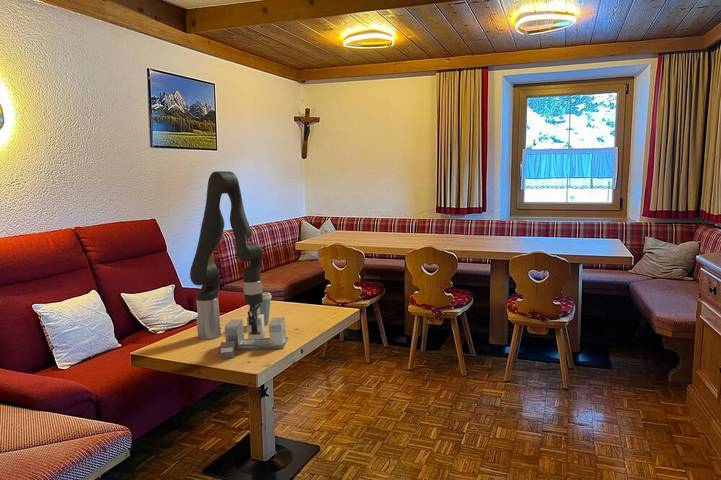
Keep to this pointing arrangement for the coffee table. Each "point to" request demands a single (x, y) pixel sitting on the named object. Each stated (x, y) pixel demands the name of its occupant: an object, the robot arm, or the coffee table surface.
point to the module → (260, 328)
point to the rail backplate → (274, 342)
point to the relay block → (227, 350)
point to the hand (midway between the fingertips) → (256, 331)
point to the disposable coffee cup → (266, 307)
